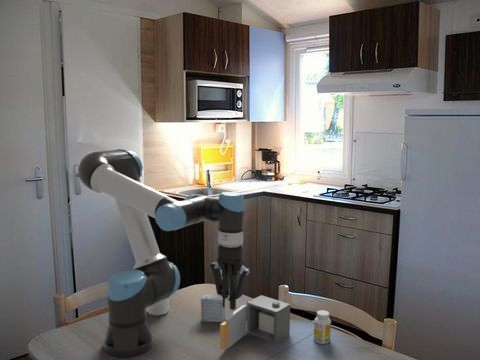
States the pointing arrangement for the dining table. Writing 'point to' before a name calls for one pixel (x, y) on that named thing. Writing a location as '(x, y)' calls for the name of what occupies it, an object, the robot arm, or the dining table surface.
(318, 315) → the supplement bottle
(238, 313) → the side door
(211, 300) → the medicine box
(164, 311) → the pill bottle
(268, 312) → the grey cabinet
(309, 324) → the dining table surface
